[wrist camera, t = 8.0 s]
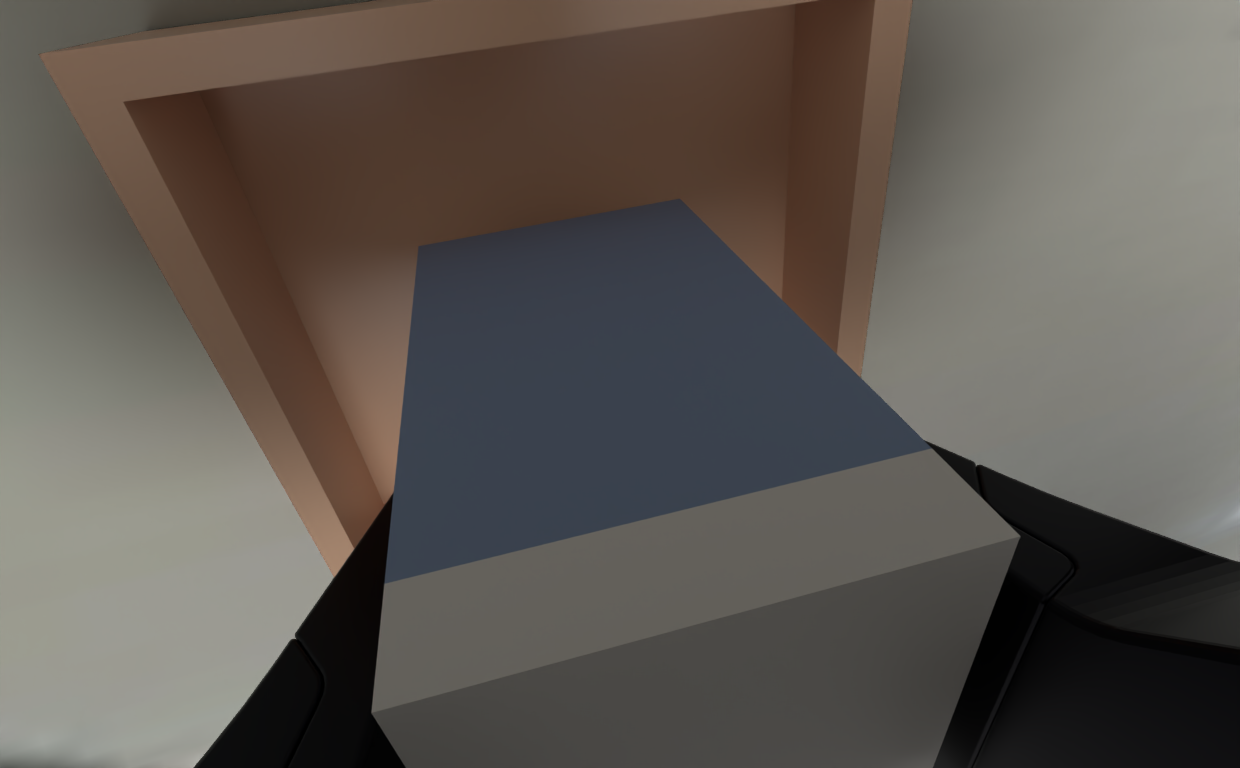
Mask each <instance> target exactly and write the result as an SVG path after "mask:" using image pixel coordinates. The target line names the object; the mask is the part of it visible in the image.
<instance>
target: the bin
mask: <svg viewBox="0 0 1240 768" xmlns="http://www.w3.org/2000/svg"><path fill="white" fill-rule="evenodd" d="M912 2H913V0H376V1H368V2H361V3H353V4H346V5H338V6H331V7H323V8H316V9H308V10H301V11H293V12H286V13H278V14H271V15H263V16H256V17H248V18H241V19H233V20H225V21H218V22H210V23H203V24H195V25H188V26H180V27H173V28H165V29H158V30H150V31H143V32H138V33H134V34H129V35H124V36H120V37H115V38H111V39H106V40H101V41H97V42H92V43H87V44H83V45H78V46H73V47H69V48H64V49H60V50H55V51H50V52H46V53H41V54H39V56H40V58H41V60H42V61H43V63H44V65H45V67H46V68H47V70H48V72H49V74H50V75H51V77H52V79H53V81H54V83H55V84H56V86H57V88H58V90H59V91H60V93H61V95H62V97H63V98H64V100H65V102H66V104H67V106H68V107H69V109H70V111H71V113H72V114H73V116H74V118H75V120H76V121H77V123H78V125H79V127H80V129H81V130H82V132H83V134H84V136H85V137H86V139H87V141H88V143H89V144H90V146H91V148H92V150H93V152H94V153H95V155H96V157H97V159H98V160H99V162H100V164H101V166H102V167H103V169H104V171H105V173H106V175H107V176H108V178H109V180H110V182H111V183H112V185H113V187H114V189H115V190H116V192H117V194H118V196H119V197H120V199H121V201H122V203H123V205H124V206H125V208H126V210H127V212H128V213H129V215H130V217H131V219H132V220H133V222H134V224H135V226H136V228H137V229H138V231H139V233H140V235H141V236H142V238H143V240H144V242H145V243H146V245H147V247H148V249H149V251H150V252H151V254H152V256H153V258H154V259H155V261H156V263H157V265H158V266H159V268H160V270H161V272H162V274H163V275H164V277H165V279H166V281H167V282H168V284H169V286H170V288H171V289H172V291H173V293H174V295H175V297H176V298H177V300H178V302H179V304H180V305H181V307H182V309H183V311H184V312H185V314H186V316H187V318H188V320H189V321H190V323H191V325H192V327H193V328H194V330H195V332H196V334H197V335H198V337H199V339H200V341H201V343H202V344H203V346H204V348H205V350H206V351H207V353H208V355H209V357H210V358H211V360H212V362H213V364H214V366H215V367H216V369H217V371H218V373H219V374H220V376H221V378H222V380H223V381H224V383H225V385H226V387H227V388H228V390H229V392H230V394H231V396H232V397H233V399H234V401H235V403H236V404H237V406H238V408H239V410H240V411H241V413H242V415H243V417H244V419H245V420H246V422H247V424H248V426H249V427H250V429H251V431H252V433H253V434H254V436H255V438H256V440H257V442H258V443H259V445H260V447H261V449H262V450H263V452H264V454H265V456H266V457H267V459H268V461H269V463H270V465H271V466H272V468H273V470H274V472H275V473H276V475H277V477H278V479H279V480H280V482H281V484H282V486H283V488H284V489H285V491H286V493H287V495H288V496H289V498H290V500H291V502H292V503H293V505H294V507H295V509H296V511H297V512H298V514H299V516H300V518H301V519H302V521H303V523H304V525H305V526H306V528H307V530H308V532H309V534H310V535H311V537H312V539H313V541H314V542H315V544H316V546H317V548H318V549H319V551H320V553H321V555H322V556H323V558H324V560H325V562H326V564H327V565H328V567H329V569H330V571H331V572H332V574H333V576H334V577H335V576H336V574H337V573H338V571H339V570H340V568H341V567H342V566H343V564H344V563H345V561H346V560H347V558H348V557H349V555H350V554H351V553H352V551H353V550H354V548H355V547H356V545H357V544H358V543H359V541H360V540H361V538H362V537H363V535H364V534H365V532H366V531H367V530H368V528H369V527H370V525H371V524H372V522H373V521H374V519H375V518H376V517H377V515H378V514H379V512H380V511H381V509H382V508H383V507H384V505H385V504H386V502H387V501H388V499H389V498H390V496H391V495H392V494H393V492H394V484H395V474H396V464H397V454H398V445H399V435H400V425H401V415H402V405H403V395H404V385H405V375H406V365H407V355H408V345H409V336H410V326H411V316H412V306H413V296H414V286H415V276H416V266H417V256H418V246H422V245H427V244H433V243H438V242H444V241H449V240H455V239H460V238H466V237H471V236H477V235H482V234H488V233H493V232H499V231H504V230H510V229H515V228H521V227H526V226H532V225H537V224H543V223H548V222H554V221H559V220H565V219H570V218H576V217H581V216H587V215H592V214H598V213H603V212H609V211H614V210H620V209H625V208H631V207H636V206H642V205H647V204H653V203H658V202H664V201H669V200H675V199H681V200H682V201H683V202H684V203H685V204H686V205H687V206H688V207H689V208H690V209H691V210H692V211H693V212H694V213H695V214H696V215H697V216H698V217H699V218H700V219H701V220H702V221H703V222H704V223H705V224H706V225H707V226H708V227H709V228H710V229H711V230H712V231H713V232H714V233H715V234H716V235H717V236H718V237H719V238H720V239H721V240H722V241H723V242H724V243H725V244H726V245H727V246H728V247H729V248H730V249H731V250H732V251H733V252H734V253H735V254H736V255H737V256H738V257H739V258H740V259H741V260H742V261H743V262H744V263H745V264H746V265H747V266H748V267H749V268H750V269H751V270H752V271H753V272H754V273H755V274H756V275H757V276H758V277H759V278H760V279H761V280H762V281H763V282H765V283H766V284H767V285H768V286H769V287H770V288H771V289H772V290H773V291H774V292H775V293H776V294H777V295H778V296H779V297H780V298H781V299H782V300H783V301H784V302H785V303H786V304H787V305H788V306H789V307H790V308H791V309H792V310H793V311H794V312H795V313H796V314H797V315H798V316H799V317H800V318H801V319H802V320H803V321H804V322H805V323H806V324H807V325H808V326H809V327H810V328H811V329H812V330H813V331H814V332H815V333H816V334H817V335H818V336H819V337H820V338H821V339H822V340H823V341H824V342H825V343H826V344H827V345H828V346H829V347H830V348H831V349H832V350H833V351H834V352H835V353H836V354H837V355H838V356H839V357H840V358H841V359H842V360H843V361H844V362H845V363H846V364H847V365H848V366H849V367H850V368H851V369H852V370H853V371H854V372H855V373H856V374H857V375H858V376H859V377H860V378H861V372H862V365H863V357H864V350H865V343H866V336H867V328H868V321H869V314H870V307H871V299H872V292H873V285H874V278H875V270H876V263H877V256H878V249H879V241H880V234H881V227H882V220H883V212H884V205H885V198H886V190H887V183H888V176H889V169H890V161H891V154H892V147H893V140H894V132H895V125H896V118H897V111H898V103H899V96H900V89H901V82H902V74H903V67H904V60H905V53H906V45H907V38H908V31H909V24H910V16H911V9H912Z"/></svg>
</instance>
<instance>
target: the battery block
mask: <svg viewBox="0 0 1240 768" xmlns="http://www.w3.org/2000/svg"><path fill="white" fill-rule="evenodd" d="M1019 539H1020V535H1019V534H1018V533H1017V532H1016V531H1015V530H1014V529H1013V528H1012V527H1011V526H1010V525H1009V524H1008V523H1007V522H1006V521H1005V520H1004V519H1003V518H1002V517H1001V516H1000V515H999V514H998V513H997V512H996V511H995V510H994V509H993V508H992V507H991V506H989V505H988V504H987V503H986V502H985V501H984V500H983V499H982V498H981V497H980V496H979V495H978V494H977V493H976V492H975V491H974V490H973V489H972V488H971V487H970V486H969V485H968V484H967V483H966V482H965V481H964V480H963V479H962V478H961V477H960V476H959V475H958V474H957V473H956V472H955V471H954V470H953V469H952V468H951V467H950V466H949V465H948V464H947V463H946V462H945V461H944V460H943V459H942V458H941V457H940V456H939V455H938V454H937V453H936V452H935V451H934V450H933V449H932V448H931V447H930V446H929V445H928V444H927V443H926V442H925V441H924V440H923V439H922V438H921V437H920V436H919V435H918V434H917V433H916V432H915V431H914V430H913V429H912V428H911V427H910V426H909V425H908V424H907V423H906V422H905V421H904V420H903V419H902V418H901V417H900V416H899V415H898V414H897V413H896V412H895V411H894V410H893V409H892V408H891V407H890V406H889V405H888V404H887V403H886V402H885V401H884V400H883V399H882V398H881V397H880V396H879V395H878V394H876V393H875V392H874V391H873V390H872V389H871V388H870V387H869V386H868V385H867V384H866V383H865V382H864V381H863V380H862V379H861V378H860V377H859V376H858V375H857V374H856V373H855V372H854V371H853V370H852V369H851V368H850V367H849V366H848V365H847V364H846V363H845V362H844V361H843V360H842V359H841V358H840V357H839V356H838V355H837V354H836V353H835V352H834V351H833V350H832V349H831V348H830V347H829V346H828V345H827V344H826V343H825V342H824V341H823V340H822V339H821V338H820V337H819V336H818V335H817V334H816V333H815V332H814V331H813V330H812V329H811V328H810V327H809V326H808V325H807V324H806V323H805V322H804V321H803V320H802V319H801V318H800V317H799V316H798V315H797V314H796V313H795V312H794V311H793V310H792V309H791V308H790V307H789V306H788V305H787V304H786V303H785V302H784V301H783V300H782V299H781V298H780V297H779V296H778V295H777V294H776V293H775V292H774V291H773V290H772V289H771V288H770V287H769V286H768V285H767V284H766V283H765V282H763V281H762V280H761V279H760V278H759V277H758V276H757V275H756V274H755V273H754V272H753V271H752V270H751V269H750V268H749V267H748V266H747V265H746V264H745V263H744V262H743V261H742V260H741V259H740V258H739V257H738V256H737V255H736V254H735V253H734V252H733V251H732V250H731V249H730V248H729V247H728V246H727V245H726V244H725V243H724V242H723V241H722V240H721V239H720V238H719V237H718V236H717V235H716V234H715V233H714V232H713V231H712V230H711V229H710V228H709V227H708V226H707V225H706V224H705V223H704V222H703V221H702V220H701V219H700V218H699V217H698V216H697V215H696V214H695V213H694V212H693V211H692V210H691V209H690V208H689V207H688V206H687V205H686V204H685V203H684V202H683V201H682V200H681V199H675V200H669V201H664V202H658V203H653V204H647V205H642V206H636V207H631V208H625V209H620V210H614V211H609V212H603V213H598V214H592V215H587V216H581V217H576V218H570V219H565V220H559V221H554V222H548V223H543V224H537V225H532V226H526V227H521V228H515V229H510V230H504V231H499V232H493V233H488V234H482V235H477V236H471V237H466V238H460V239H455V240H449V241H444V242H438V243H433V244H427V245H422V246H418V256H417V266H416V276H415V286H414V296H413V306H412V316H411V326H410V336H409V345H408V355H407V365H406V375H405V385H404V395H403V405H402V415H401V425H400V435H399V445H398V454H397V464H396V474H395V484H394V494H393V504H392V514H391V524H390V534H389V544H388V554H387V563H386V573H385V583H384V593H383V603H382V613H381V623H380V633H379V643H378V653H377V662H376V672H375V682H374V692H373V702H372V712H371V713H372V715H373V716H374V718H375V719H376V721H377V723H378V724H379V726H380V727H381V729H382V731H383V732H384V734H385V735H386V737H387V738H388V740H389V742H390V743H391V745H392V746H393V748H394V750H395V751H396V753H397V754H398V756H399V758H400V759H401V761H402V762H403V764H404V765H405V767H406V768H933V766H934V763H935V761H936V758H937V755H938V753H939V750H940V747H941V745H942V742H943V739H944V737H945V734H946V732H947V729H948V726H949V724H950V721H951V718H952V716H953V713H954V710H955V708H956V705H957V702H958V700H959V697H960V695H961V692H962V689H963V687H964V684H965V681H966V679H967V676H968V673H969V671H970V668H971V666H972V663H973V660H974V658H975V655H976V652H977V650H978V647H979V644H980V642H981V639H982V636H983V634H984V631H985V629H986V626H987V623H988V621H989V618H990V615H991V613H992V610H993V607H994V605H995V602H996V599H997V597H998V594H999V592H1000V589H1001V586H1002V584H1003V581H1004V578H1005V576H1006V573H1007V570H1008V568H1009V565H1010V562H1011V560H1012V557H1013V555H1014V552H1015V549H1016V547H1017V544H1018V541H1019Z"/></svg>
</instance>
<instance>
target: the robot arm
mask: <svg viewBox="0 0 1240 768" xmlns="http://www.w3.org/2000/svg"><path fill="white" fill-rule="evenodd" d="M924 441H925V440H924ZM925 442H926V443H927V444H928V445H929V446H930V447H931V448H932V449H933V450H934V451H935V452H936V453H937V454H938V455H939V456H940V457H941V458H942V459H943V460H944V461H945V462H946V463H947V464H948V465H949V466H950V467H951V468H952V469H953V470H954V471H955V472H956V473H957V474H958V475H959V476H960V477H961V478H962V479H963V480H964V481H965V482H966V483H967V484H968V485H969V486H970V487H971V488H972V489H973V490H974V491H975V492H976V493H977V494H978V495H979V496H980V497H981V498H982V499H983V500H984V501H985V502H986V503H987V504H988V505H989V506H991V507H992V508H993V509H994V510H995V511H996V512H997V513H998V514H999V515H1000V516H1001V517H1002V518H1003V519H1004V520H1005V521H1006V522H1007V523H1008V524H1009V525H1010V526H1011V527H1012V528H1013V529H1014V530H1015V531H1016V532H1017V533H1018V534H1019V535H1020V539H1019V541H1018V544H1017V547H1016V549H1015V552H1014V555H1013V557H1012V560H1011V562H1010V565H1009V568H1008V570H1007V573H1006V576H1005V578H1004V581H1003V584H1002V586H1001V589H1000V592H999V594H998V597H997V599H996V602H995V605H994V607H993V610H992V613H991V615H990V618H989V621H988V623H987V626H986V629H985V631H984V634H983V636H982V639H981V642H980V644H979V647H978V650H977V652H976V655H975V658H974V660H973V663H972V666H971V668H970V671H969V673H968V676H967V679H966V681H965V684H964V687H963V689H962V692H961V695H960V697H959V700H958V702H957V705H956V708H955V710H954V713H953V716H952V718H951V721H950V724H949V726H948V729H947V732H946V734H945V737H944V739H943V742H942V745H941V747H940V750H939V753H938V755H937V758H936V761H935V763H934V766H933V768H1240V562H1238V561H1234V560H1230V559H1227V558H1224V557H1221V556H1218V555H1215V554H1212V553H1209V552H1206V551H1204V550H1201V549H1198V548H1195V547H1193V546H1190V545H1187V544H1184V543H1182V542H1179V541H1176V540H1173V539H1171V538H1168V537H1165V536H1162V535H1160V534H1157V533H1154V532H1151V531H1149V530H1146V529H1143V528H1140V527H1137V526H1135V525H1132V524H1129V523H1126V522H1124V521H1121V520H1118V519H1115V518H1113V517H1110V516H1107V515H1104V514H1102V513H1099V512H1096V511H1093V510H1091V509H1088V508H1085V507H1083V506H1080V505H1078V504H1075V503H1072V502H1070V501H1067V500H1064V499H1062V498H1059V497H1056V496H1054V495H1051V494H1049V493H1046V492H1044V491H1041V490H1039V489H1036V488H1034V487H1032V486H1029V485H1027V484H1024V483H1022V482H1020V481H1017V480H1015V479H1012V478H1010V477H1008V476H1005V475H1003V474H1001V473H999V472H996V471H994V470H992V469H989V468H987V467H985V466H983V465H977V466H976V464H975V463H974V462H973V461H971V460H968V459H966V458H964V457H962V456H959V455H957V454H955V453H953V452H950V451H948V450H946V449H943V448H941V447H939V446H937V445H934V444H932V443H930V442H927V441H925ZM393 494H394V492H393ZM393 494H392V495H391V496H390V498H389V499H388V501H387V502H386V504H385V505H384V507H383V508H382V509H381V511H380V512H379V514H378V515H377V517H376V518H375V519H374V521H373V522H372V524H371V525H370V527H369V528H368V530H367V531H366V532H365V534H364V535H363V537H362V538H361V540H360V541H359V543H358V544H357V545H356V547H355V548H354V550H353V551H352V553H351V554H350V555H349V557H348V558H347V560H346V561H345V563H344V564H343V566H342V567H341V568H340V570H339V571H338V573H337V574H336V576H335V577H334V578H333V580H332V581H331V583H330V584H329V586H328V587H327V589H326V590H325V591H324V593H323V594H322V596H321V597H320V599H319V600H318V601H317V603H316V604H315V606H314V607H313V609H312V610H311V612H310V613H309V614H308V616H307V617H306V619H305V620H304V622H303V623H302V624H301V626H300V627H299V629H298V630H297V632H296V633H295V638H296V639H297V640H296V639H292V640H290V641H289V643H288V644H287V646H286V647H285V649H284V650H283V651H282V653H281V654H280V656H279V657H278V659H277V660H276V661H275V663H274V664H273V666H272V667H271V668H270V670H269V671H268V673H267V674H266V675H265V677H264V678H263V679H262V681H261V682H260V684H259V685H258V686H257V688H256V689H255V690H254V692H253V693H252V694H251V696H250V697H249V699H248V700H247V701H246V703H245V704H244V705H243V707H242V708H241V709H240V711H239V712H238V713H237V714H236V716H235V717H234V718H233V719H232V721H231V722H230V723H229V724H228V726H227V727H226V728H225V729H224V731H223V732H222V733H221V734H220V736H219V737H218V738H217V739H216V741H215V742H214V743H213V744H212V746H211V747H210V748H209V750H208V751H207V752H206V753H205V754H204V756H203V757H202V758H201V759H200V761H199V762H198V763H197V764H196V765H195V767H194V768H406V767H405V765H404V764H403V762H402V761H401V759H400V758H399V756H398V754H397V753H396V751H395V750H394V748H393V746H392V745H391V743H390V742H389V740H388V738H387V737H386V735H385V734H384V732H383V731H382V729H381V727H380V726H379V724H378V723H377V721H376V719H375V718H374V716H373V715H372V713H371V712H372V702H373V692H374V682H375V672H376V662H377V653H378V643H379V633H380V623H381V613H382V603H383V593H384V583H385V573H386V563H387V554H388V544H389V534H390V524H391V514H392V504H393Z"/></svg>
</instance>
